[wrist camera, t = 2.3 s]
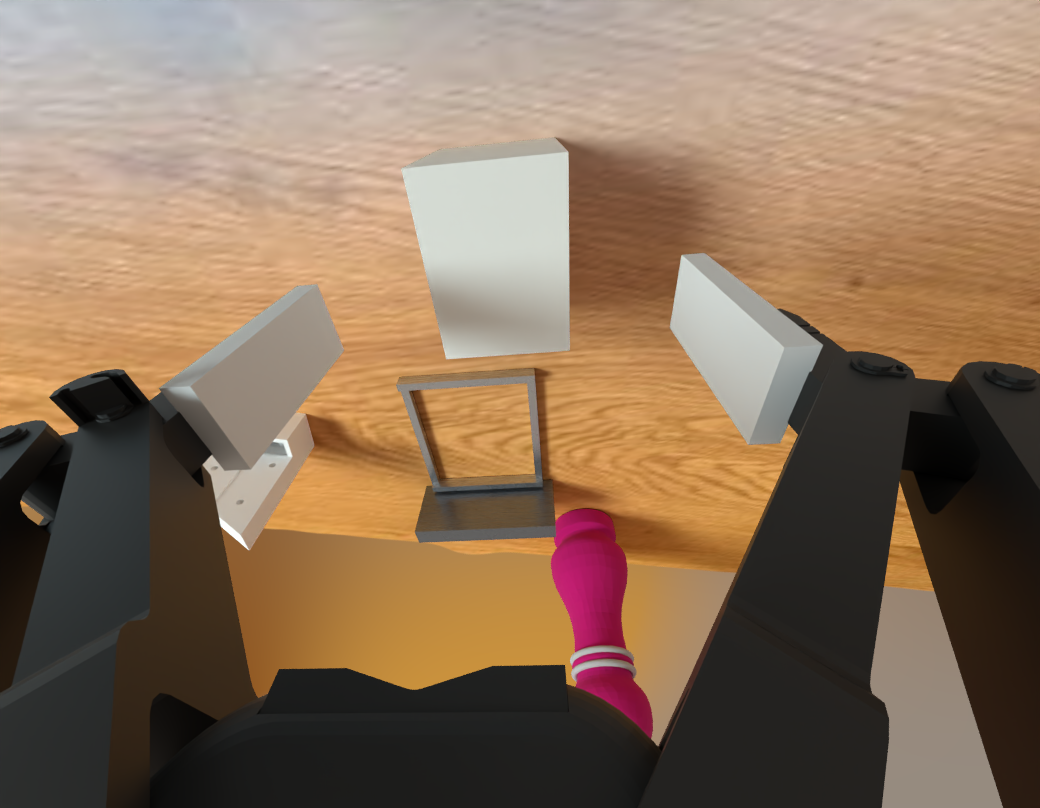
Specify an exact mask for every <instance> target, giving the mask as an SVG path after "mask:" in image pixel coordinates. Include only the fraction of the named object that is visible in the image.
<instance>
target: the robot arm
mask: <svg viewBox="0 0 1040 808" xmlns="http://www.w3.org/2000/svg"><path fill="white" fill-rule="evenodd" d="M670 329H671V330H672V332H673V333H674V335H675V336H676V338H677V339H678V341H679V342H680V344H681V345H682V347H683V348H684V350H685V351H686V353H687V354H688V356H689V357H690V359H691V360H692V362H693V363H694V365H695V366H696V368H697V369H698V371H699V372H700V373H701V375H702V376H703V378H704V379H705V381H706V382H707V384H708V385H709V387H710V388H711V390H712V391H713V393H714V394H715V396H716V397H717V399H718V400H719V402H720V403H721V405H722V406H723V408H724V409H725V411H726V412H727V414H728V415H729V417H730V418H731V420H732V421H733V423H734V424H735V426H736V427H737V429H738V430H739V432H740V433H741V435H742V436H743V438H744V439H745V441H746V442H747V444H748V445H753V444H773V443H780V442H781V440H782V438H783V435H784V433H785V431H786V428H787V426H788V424H789V425H790V426H791V427H792V428H793V429H794V431H795V432H796V433H797V434H798V437H797V439H796V441H795V443H794V445H793V447H792V449H791V452H790V454H789V456H788V458H787V460H786V462H785V464H784V466H783V470H782V472H781V474H780V476H779V479H778V481H777V483H776V485H775V488H774V490H773V492H772V494H771V497H770V499H769V501H768V503H767V506H766V508H765V510H764V512H763V515H762V517H761V519H760V521H759V523H758V526H757V528H756V530H755V532H754V535H753V537H752V539H751V541H750V544H749V546H748V548H747V550H746V553H745V555H744V557H743V559H742V562H741V564H740V566H739V568H738V571H737V573H736V575H735V577H734V580H733V582H732V584H731V586H730V589H729V591H728V593H727V595H726V597H725V600H724V602H723V604H722V606H721V609H720V611H719V613H718V616H717V618H716V620H715V622H714V624H713V627H712V629H711V631H710V633H709V636H708V638H707V640H706V642H705V644H704V647H703V649H702V651H701V654H700V656H699V658H698V660H697V662H696V665H695V667H694V669H693V672H692V674H691V676H690V678H689V680H688V683H687V685H686V687H685V689H684V691H683V693H682V696H681V698H680V700H679V702H678V704H677V706H676V709H675V711H674V713H673V715H672V717H671V719H670V722H669V724H668V726H667V729H666V731H665V733H664V735H663V737H662V739H661V742H660V744H659V746H657V745H656V744H655V743H654V742H653V741H652V740H651V739H650V738H649V737H648V735H647V734H646V733H645V732H644V731H643V730H642V729H641V728H640V727H639V726H638V725H637V724H636V723H635V722H633V721H632V720H631V719H630V718H629V717H627V716H626V715H625V714H624V713H623V712H621V711H620V710H619V709H617V708H616V707H614V706H613V705H611V704H610V703H608V702H607V701H605V700H603V699H602V698H600V697H598V696H596V695H594V694H592V693H589V692H587V691H585V690H583V689H580V688H577V687H574V686H570V685H567V684H566V673H565V665H542V666H541V665H538V666H537V665H533V666H492V667H488V668H485V669H482V670H479V671H476V672H472V673H469V674H466V675H463V676H460V677H457V678H454V679H450V680H447V681H444V682H441V683H438V684H435V685H432V686H429V687H426V688H423V689H418V690H410V689H406V688H403V687H400V686H397V685H394V684H391V683H388V682H385V681H382V680H380V679H376V678H374V677H371V676H368V675H365V674H362V673H359V672H356V671H353V670H350V669H347V668H335V669H334V668H333V669H332V668H329V669H279V671H278V673H277V675H276V677H275V680H274V682H273V684H272V686H271V688H270V691H269V693H268V694H267V695H265V696H262V697H260V698H258V697H257V696H256V694H255V692H254V689H253V687H252V683H251V680H250V675H249V669H248V665H247V660H246V654H245V649H244V644H243V638H242V633H241V628H240V623H239V618H238V613H237V608H236V602H235V597H234V592H233V587H232V582H231V577H230V571H229V567H228V561H227V556H226V551H225V546H224V541H223V535H222V531H221V525H220V520H219V515H218V510H217V504H216V499H215V494H214V489H213V484H212V479H211V475H210V474H209V472H208V471H207V470H206V469H205V467H204V466H203V464H204V463H205V462H206V461H207V459H208V458H209V457H210V456H211V455H212V456H213V457H214V458H215V460H216V461H217V462H218V463H219V465H220V466H221V467H222V468H223V470H224V471H231V470H251V469H252V468H253V466H254V465H255V464H256V462H257V461H258V460H259V459H260V457H261V456H262V455H263V454H264V452H265V451H266V450H267V448H268V447H269V446H270V445H271V443H272V442H273V441H274V439H275V438H276V437H277V436H278V434H279V433H280V432H281V431H282V429H283V428H284V427H285V425H286V424H287V423H288V422H289V420H290V419H291V418H292V416H293V415H294V414H295V413H296V411H297V410H298V409H299V407H300V406H301V405H302V404H303V402H304V401H305V400H306V399H307V397H308V396H309V395H310V393H311V392H312V391H313V390H314V388H315V387H316V386H317V384H318V383H319V382H320V381H321V379H322V378H323V377H324V376H325V374H326V373H327V372H328V370H329V369H330V368H331V367H332V365H333V364H334V363H335V361H336V360H337V359H338V358H339V356H340V355H341V354H342V352H343V351H344V349H343V346H342V344H341V341H340V339H339V336H338V334H337V332H336V329H335V327H334V324H333V322H332V319H331V317H330V314H329V312H328V310H327V307H326V305H325V302H324V300H323V297H322V295H321V293H320V290H319V288H318V285H317V284H316V285H304V286H297V287H295V288H294V289H293V290H291V291H290V292H289V293H287V294H286V295H284V296H283V297H282V298H280V299H279V300H278V301H276V302H275V303H274V304H272V305H271V306H270V307H268V308H267V309H266V310H264V311H263V312H261V313H260V314H259V315H257V316H256V317H255V318H253V319H252V320H251V321H249V322H248V323H247V324H245V325H244V326H243V327H241V328H240V329H239V330H237V331H236V332H234V333H233V334H232V335H230V336H229V337H228V338H226V339H225V340H224V341H222V342H221V343H220V344H218V345H217V346H216V347H214V348H213V349H211V350H210V351H209V352H207V353H206V354H205V355H203V356H202V357H201V358H199V359H198V360H197V361H195V362H194V363H193V364H191V365H190V366H188V367H187V368H186V369H184V370H183V371H182V372H180V373H179V374H178V375H176V376H175V377H174V378H172V379H171V380H170V381H168V382H167V383H165V384H164V385H163V386H161V387H160V388H159V389H160V390H161V393H159V394H158V395H157V396H155V397H154V398H153V399H152V400H150V401H149V400H148V399H147V398H146V397H145V395H144V394H143V393H142V392H141V391H140V389H139V388H138V387H137V386H136V385H135V383H134V382H133V381H132V380H131V379H130V377H129V376H128V375H127V374H126V373H125V371H124V370H119V369H114V370H105V371H101V372H97V373H94V374H90V375H87V376H85V377H82V378H79V379H77V380H74V381H72V382H70V383H68V384H66V385H64V386H62V387H61V388H59V389H58V390H56V391H55V392H54V393H53V394H52V395H51V396H50V397H49V398H50V399H51V400H52V401H53V402H54V403H55V404H56V405H57V406H58V407H59V408H60V409H61V410H63V411H64V412H65V413H66V414H67V415H68V416H69V417H70V418H71V419H72V420H73V421H74V422H75V423H76V424H77V425H78V426H79V428H78V432H74V433H70V434H65V435H61V436H60V435H59V434H58V433H57V432H56V431H55V430H54V429H52V428H51V427H50V426H49V425H48V424H47V423H46V422H45V421H37V420H35V421H30V422H25V423H21V424H18V425H15V426H12V425H10V426H7V427H4V428H2V429H0V808H882V799H883V790H884V781H885V771H886V762H887V753H888V743H889V717H888V714H887V710H886V707H885V703H884V702H882V701H881V700H880V699H878V698H877V697H876V696H875V695H873V694H872V691H871V688H870V676H871V668H872V661H873V654H874V648H875V641H876V635H877V628H878V622H879V614H880V608H881V601H882V595H883V588H884V581H885V575H886V568H887V561H888V555H889V548H890V541H891V535H892V528H893V521H894V515H895V508H896V501H897V495H898V488H899V481H900V484H901V487H902V490H903V493H904V496H905V499H906V502H907V506H908V509H909V512H910V515H911V518H912V521H913V525H914V528H915V531H916V534H917V537H918V540H919V543H920V547H921V550H922V553H923V556H924V559H925V562H926V566H927V569H928V572H929V575H930V578H931V581H932V585H933V588H934V591H935V594H936V597H937V600H938V603H939V606H940V610H941V613H942V616H943V619H944V622H945V625H946V629H947V632H948V635H949V638H950V641H951V644H952V647H953V651H954V654H955V657H956V660H957V663H958V667H959V670H960V673H961V676H962V679H963V682H964V685H965V689H966V691H967V695H968V698H969V701H970V704H971V707H972V711H973V714H974V717H975V720H976V723H977V726H978V730H979V733H980V736H981V739H982V742H983V745H984V749H985V752H986V755H987V758H988V761H989V764H990V768H991V770H992V774H993V777H994V780H995V783H996V786H997V789H998V792H999V796H1000V799H1001V802H1002V805H1003V808H1040V374H1039V373H1037V372H1036V371H1035V370H1033V369H1030V368H1027V367H1024V368H1022V366H1020V365H1016V364H1003V363H997V362H982V361H979V362H971V363H967V364H966V365H964V366H963V367H961V369H960V370H959V372H958V373H957V374H956V376H955V377H954V379H953V380H952V381H951V382H947V381H937V380H927V379H918V378H915V375H914V372H913V370H912V369H911V368H909V367H908V366H907V365H906V364H904V363H902V362H900V361H898V360H896V359H893V358H891V357H887V356H884V355H880V354H876V353H869V352H862V351H855V352H847V351H845V350H844V349H843V348H841V347H840V346H839V345H837V344H836V343H835V342H833V341H832V340H831V339H829V338H828V337H826V336H825V335H824V334H820V331H818V330H817V329H816V328H814V327H813V326H810V324H809V323H807V322H806V321H805V320H803V319H802V318H801V317H799V316H798V315H795V314H793V313H790V312H788V311H785V310H783V309H776V308H775V307H773V306H772V305H771V304H770V303H768V302H767V301H766V300H764V299H763V298H762V297H761V296H759V295H758V294H757V293H755V292H754V291H753V290H752V289H750V288H749V287H748V286H746V285H745V284H744V283H742V282H741V281H740V280H739V279H737V278H736V277H735V276H733V275H732V274H731V273H730V272H728V271H727V270H726V269H724V268H723V267H722V266H721V265H719V264H718V263H717V262H715V261H714V260H713V259H712V258H710V257H709V256H708V255H706V254H705V253H698V254H685V255H682V256H681V262H680V268H679V274H678V280H677V286H676V293H675V299H674V305H673V311H672V317H671V323H670ZM21 500H22V501H23V502H24V503H26V504H27V505H29V506H30V507H31V508H33V509H34V510H35V511H37V512H38V513H39V514H41V515H42V516H43V517H44V519H43V520H42V521H41V523H40V524H39V525H37V524H36V523H35V522H33V521H32V520H30V519H29V518H28V517H27V516H26V515H25V514H24V513H23V511H22V508H21V504H20V501H21Z"/></svg>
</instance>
